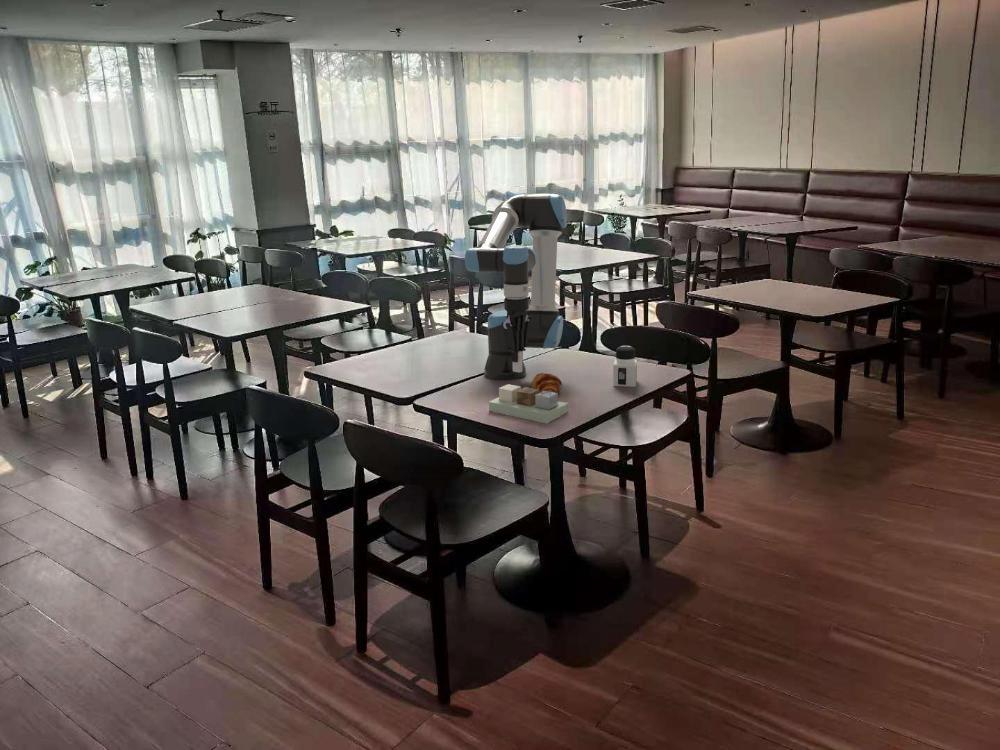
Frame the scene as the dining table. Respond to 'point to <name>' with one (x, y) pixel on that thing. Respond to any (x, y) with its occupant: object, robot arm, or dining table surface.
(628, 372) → the container
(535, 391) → the brown wooden cube
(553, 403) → the white marble cube
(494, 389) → the dining table surface
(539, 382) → the croissant
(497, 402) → the pale green flat block
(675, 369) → the dining table surface
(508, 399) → the key ivory
